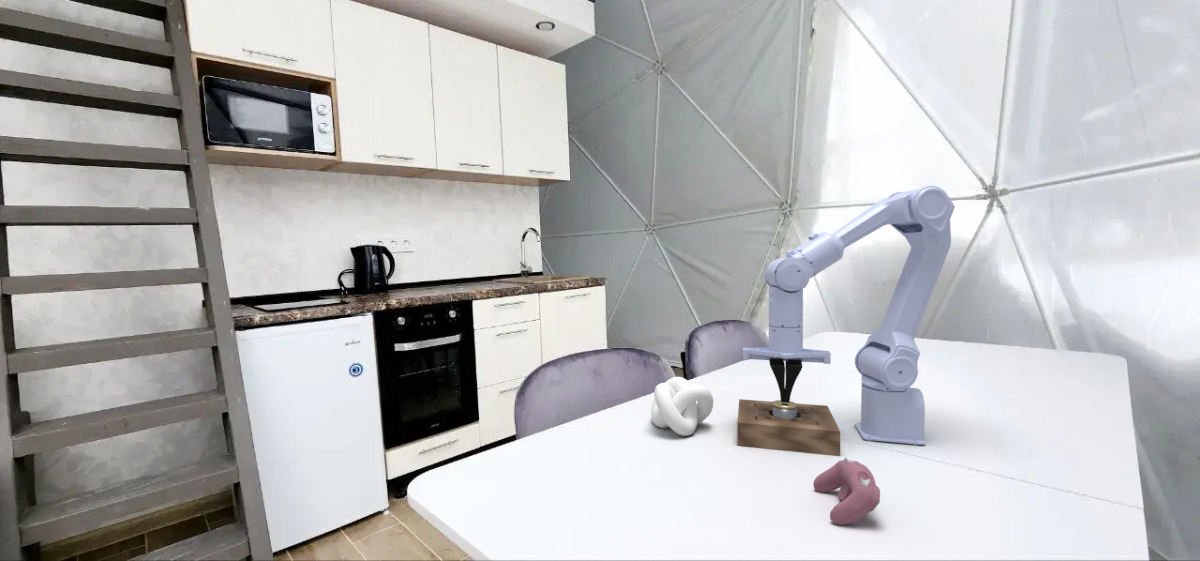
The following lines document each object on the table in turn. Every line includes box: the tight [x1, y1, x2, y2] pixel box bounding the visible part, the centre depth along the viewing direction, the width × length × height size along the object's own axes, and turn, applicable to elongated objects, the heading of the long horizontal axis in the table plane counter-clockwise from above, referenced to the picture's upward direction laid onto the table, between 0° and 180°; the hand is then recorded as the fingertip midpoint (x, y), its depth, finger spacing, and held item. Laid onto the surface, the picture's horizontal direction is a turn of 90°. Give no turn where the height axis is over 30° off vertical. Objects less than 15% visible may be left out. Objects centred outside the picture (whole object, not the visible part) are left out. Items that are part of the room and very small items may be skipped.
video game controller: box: [812, 457, 881, 526], centre depth 63 cm, size 10×5×7 cm, turn 170°
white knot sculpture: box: [650, 376, 714, 437], centre depth 93 cm, size 11×12×9 cm
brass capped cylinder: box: [772, 399, 797, 419], centre depth 88 cm, size 4×4×6 cm
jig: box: [736, 398, 841, 457], centre depth 88 cm, size 16×14×4 cm
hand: (784, 400), depth 88 cm, fingers closed
